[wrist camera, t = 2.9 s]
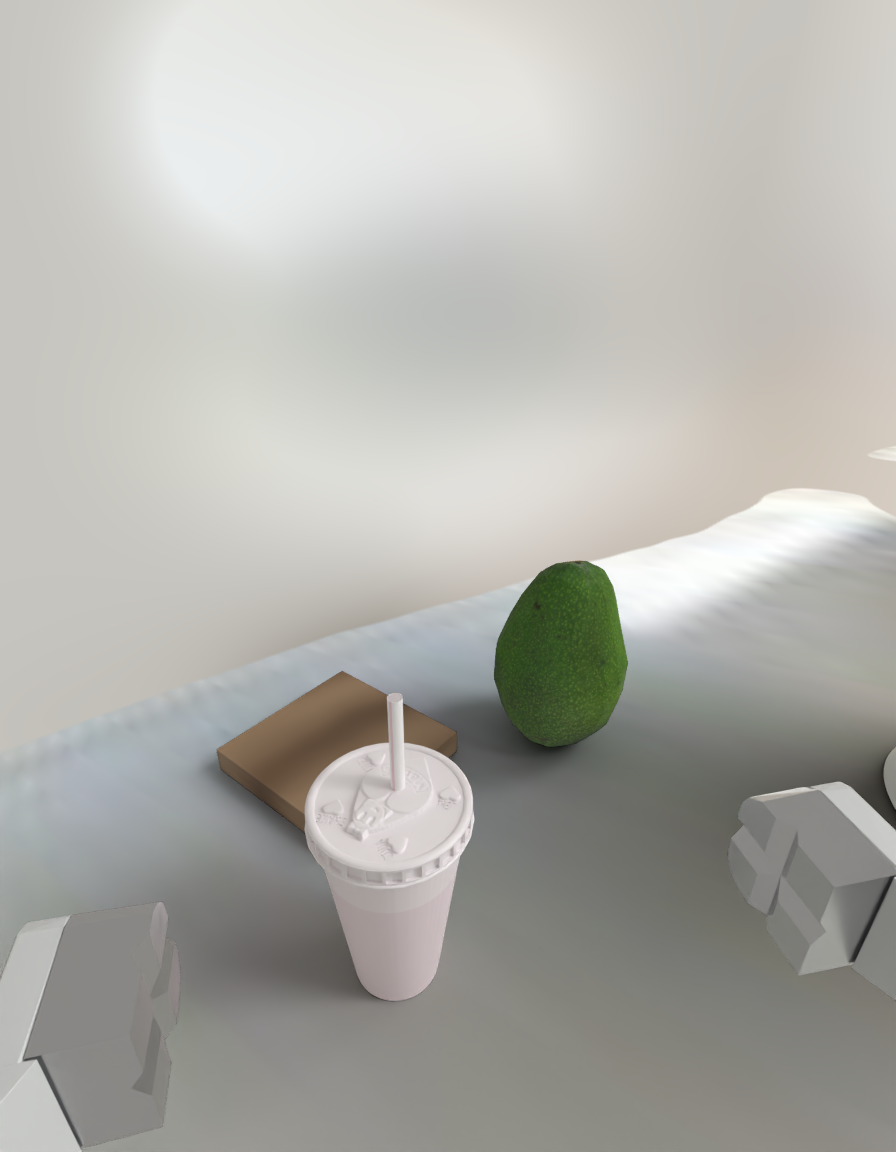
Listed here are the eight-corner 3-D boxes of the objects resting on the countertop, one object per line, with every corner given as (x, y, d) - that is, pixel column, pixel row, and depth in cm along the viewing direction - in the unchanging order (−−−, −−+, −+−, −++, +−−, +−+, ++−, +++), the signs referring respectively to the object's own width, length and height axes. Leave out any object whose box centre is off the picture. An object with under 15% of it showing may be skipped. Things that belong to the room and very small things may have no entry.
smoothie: (495, 937, 30) (511, 689, 24) (414, 1070, 25) (405, 805, 19) (383, 872, 33) (370, 636, 27) (292, 979, 28) (248, 724, 22)
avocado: (636, 726, 43) (666, 560, 38) (573, 795, 38) (596, 614, 32) (534, 677, 48) (546, 523, 42) (465, 733, 42) (469, 565, 37)
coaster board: (456, 750, 41) (456, 732, 40) (336, 857, 34) (334, 836, 33) (343, 688, 46) (342, 670, 46) (220, 769, 40) (216, 749, 39)
